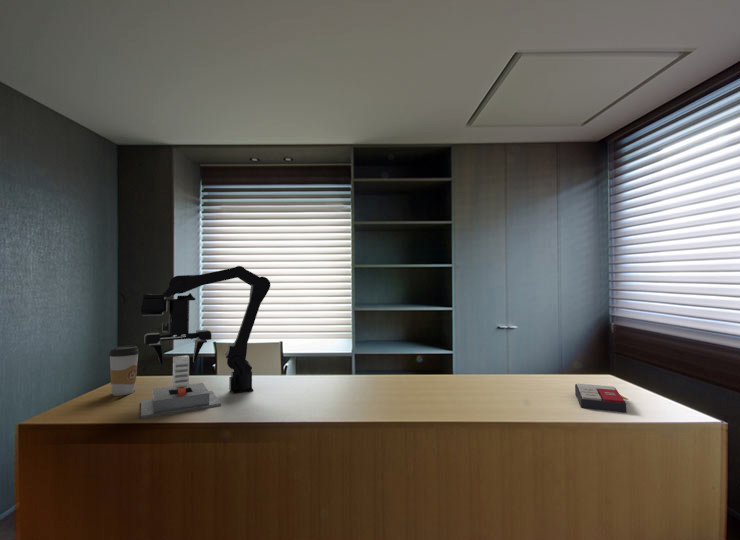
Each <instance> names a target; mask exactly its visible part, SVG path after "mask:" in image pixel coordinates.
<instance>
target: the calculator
mask: <svg viewBox="0 0 740 540" xmlns="http://www.w3.org/2000/svg"><path fill="white" fill-rule="evenodd" d="M574 386H575V387H574V391H575V392H574V393H575V397H576V399H577V402H578V405H579V407H580V408H581V409H585V410H586V409H587V410H594V411H595V410H596V411H604V412H615V413H621V414H622V413H624V414H625V413H626V414H627V411H628V410H627V403H626V401H625V400H624V398H623V397H622V395H621V394H620V392H619V391H618V389H617V388H616V387H614V385H613V386H611V385H609V386H608V385H601V384H600V385H599V384H586V383H575V384H574Z"/></svg>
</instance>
